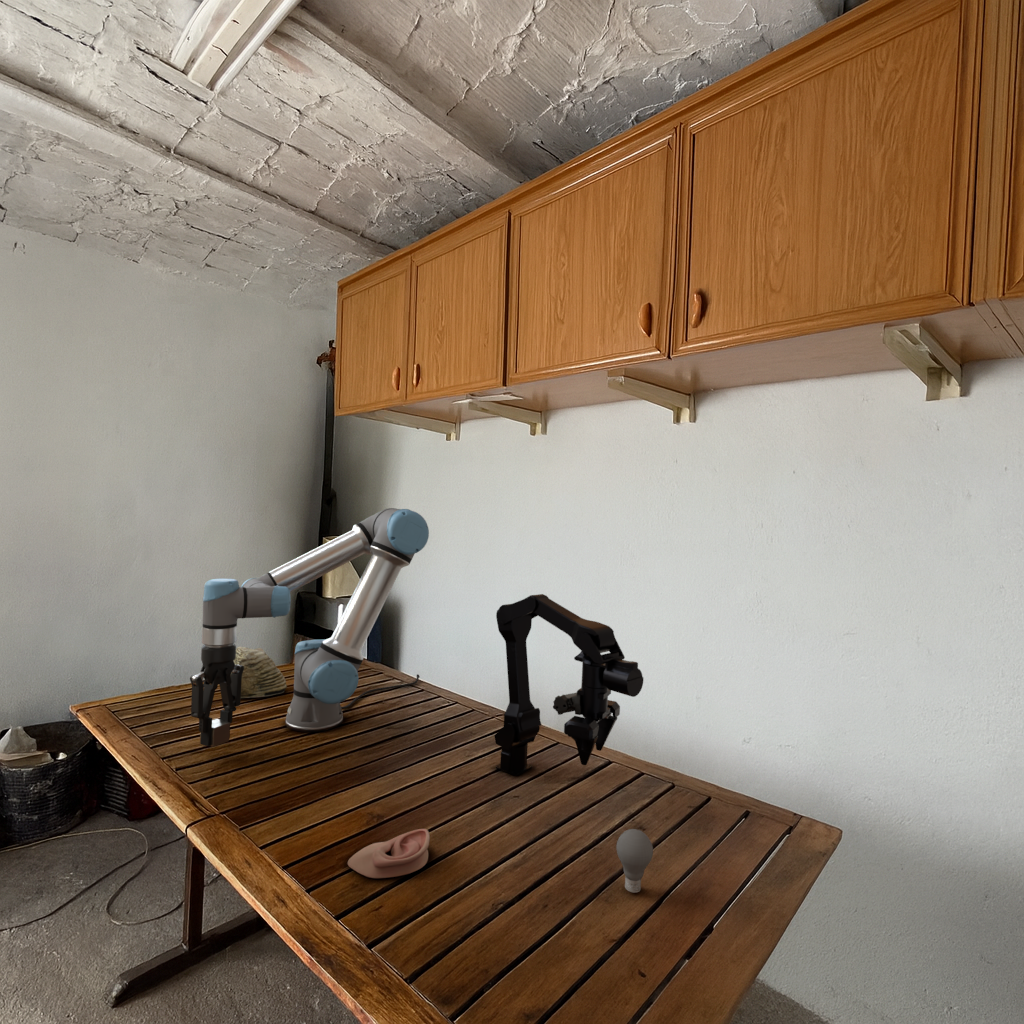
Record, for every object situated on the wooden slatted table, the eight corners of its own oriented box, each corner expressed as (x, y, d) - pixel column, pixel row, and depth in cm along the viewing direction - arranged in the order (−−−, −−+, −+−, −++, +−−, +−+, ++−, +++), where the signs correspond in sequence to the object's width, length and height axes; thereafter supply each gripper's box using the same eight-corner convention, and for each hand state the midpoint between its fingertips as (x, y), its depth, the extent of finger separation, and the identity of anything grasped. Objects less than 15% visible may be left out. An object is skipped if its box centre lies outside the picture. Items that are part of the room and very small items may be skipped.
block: (216, 737, 154) (216, 718, 154) (229, 741, 152) (229, 722, 152) (199, 742, 150) (200, 724, 150) (213, 747, 148) (213, 728, 148)
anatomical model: (339, 849, 107) (368, 816, 118) (339, 872, 107) (367, 837, 118) (414, 862, 104) (436, 827, 115) (413, 885, 104) (435, 848, 116)
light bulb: (610, 879, 108) (613, 822, 108) (644, 879, 109) (647, 822, 109) (619, 902, 102) (622, 840, 102) (655, 901, 103) (658, 840, 103)
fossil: (218, 695, 195) (220, 647, 195) (278, 685, 208) (279, 640, 207) (228, 703, 189) (230, 653, 188) (289, 692, 201) (290, 645, 201)
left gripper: (238, 635, 160) (234, 727, 161) (174, 648, 145) (171, 750, 145) (259, 639, 157) (255, 733, 158) (197, 653, 141) (193, 757, 142)
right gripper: (575, 669, 147) (572, 735, 147) (542, 688, 131) (539, 764, 131) (622, 677, 142) (618, 746, 142) (593, 698, 125) (589, 776, 126)
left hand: (215, 741), depth 151 cm, fingers closed on block, 4 cm apart
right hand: (591, 757), depth 135 cm, fingers open, 9 cm apart
